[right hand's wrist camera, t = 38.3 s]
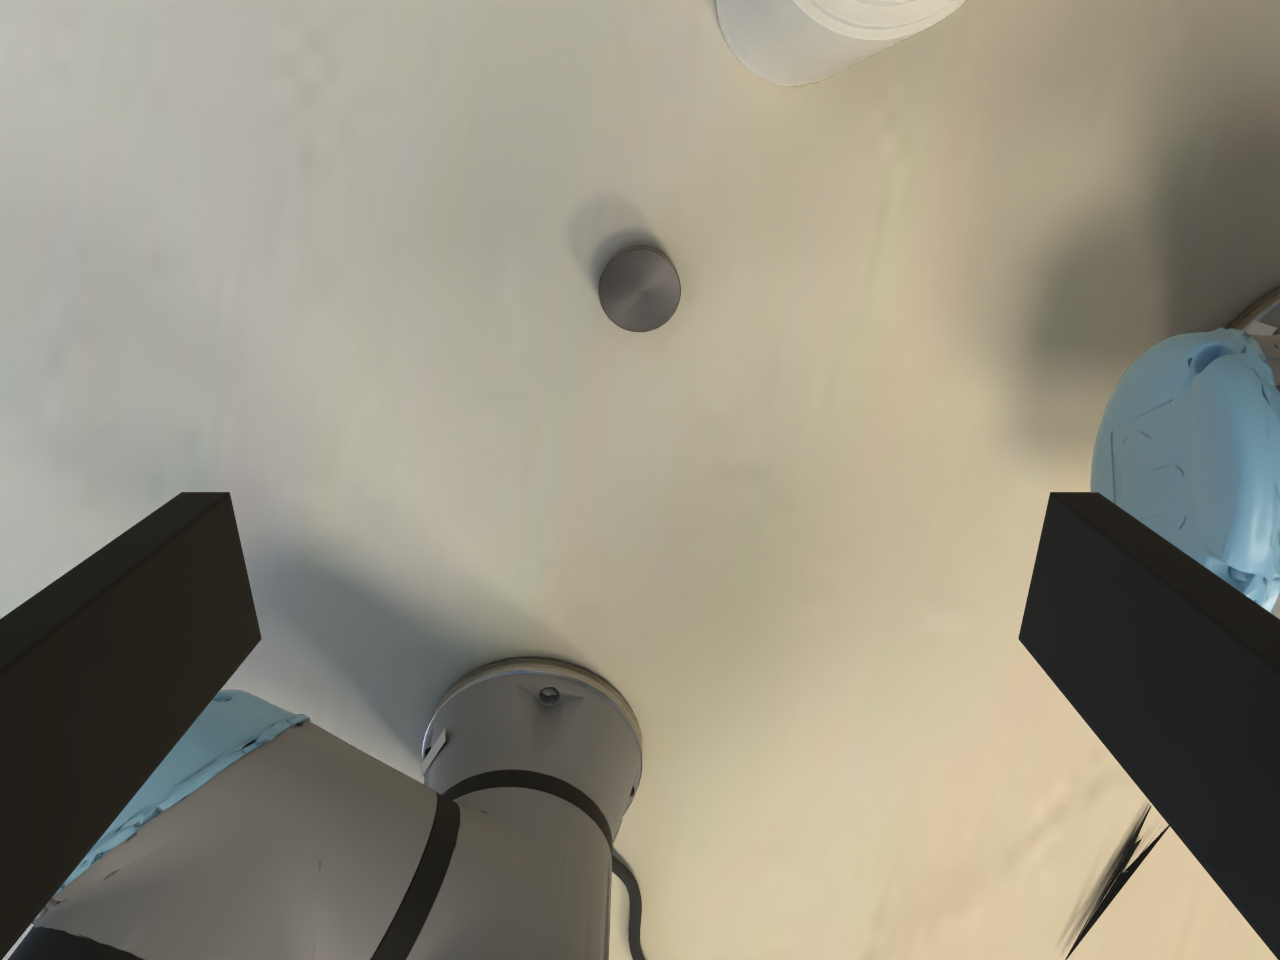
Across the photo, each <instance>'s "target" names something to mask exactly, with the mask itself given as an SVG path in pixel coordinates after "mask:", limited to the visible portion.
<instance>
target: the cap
mask: <svg viewBox="0 0 1280 960" xmlns="http://www.w3.org/2000/svg"><path fill="white" fill-rule="evenodd" d="M680 293H681V288H680V281H679V277H678V274H677V272H676V269H675V267H674V265H673V264H672V262H671V261H670V260H669V259H668V257H667V256H665V255H664V254H663V253H662V252H660V251H658V250H656V249H654V248H651V247H647V246H632V247H628V248H625V249H623V250H621V251H619V252H618V253H617V254H615V255H614V256H613V257H612V258H611V259H610V260H609V261H608V263H607V264H606V266H605V268H604V270H603V273H602V275H601V278H600V282H599V298H600V302H601V305H602V308H603V310H604V312H605V313H606V315H607V316H608V317H609V319H610V320H611V321H612V322H614V323H615V324H616V325H618V326H619V327H621V328H623V329H625V330H629V331H633V332H647V331H651V330H654V329H656V328H658V327H660V326H662V325H663V324H665V323H666V322H667V321H668V320H669V319H670V318H671V317H672V315H673V314H674V312H675V311H676V309H677V306H678V304H679V300H680Z"/></svg>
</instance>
